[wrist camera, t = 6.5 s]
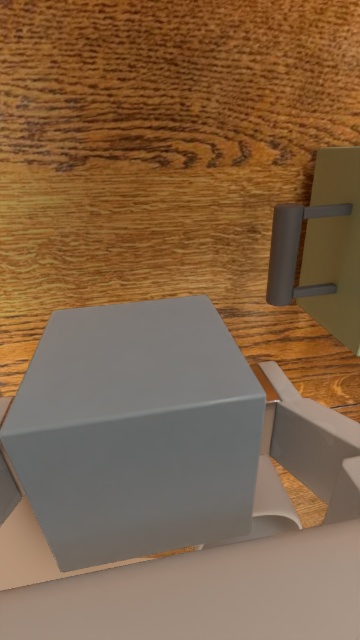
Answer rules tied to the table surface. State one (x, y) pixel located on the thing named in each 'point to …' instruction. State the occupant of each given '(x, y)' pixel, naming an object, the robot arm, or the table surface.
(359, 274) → the drawer
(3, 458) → the robot arm
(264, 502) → the mug
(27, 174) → the table surface
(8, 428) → the block
